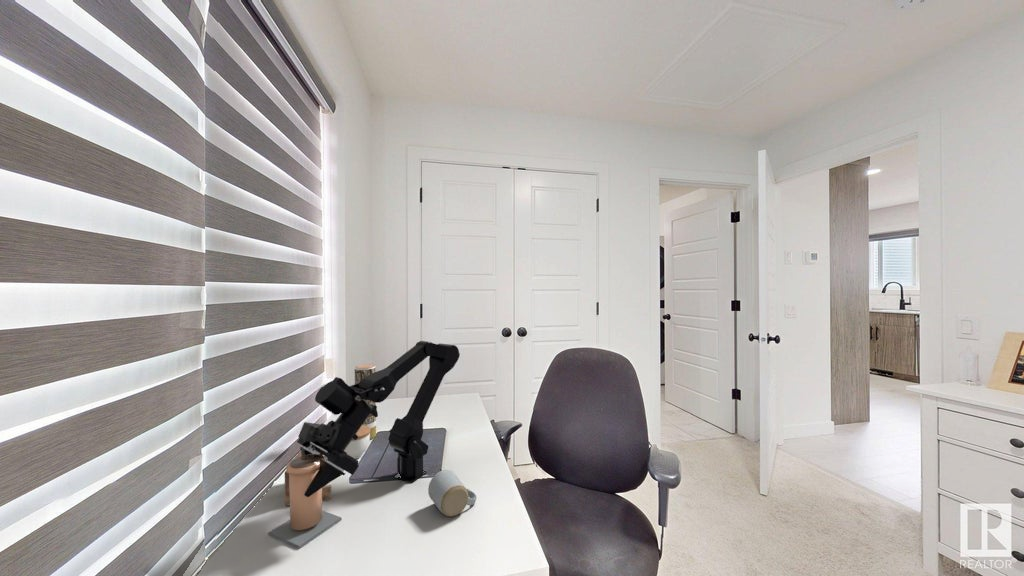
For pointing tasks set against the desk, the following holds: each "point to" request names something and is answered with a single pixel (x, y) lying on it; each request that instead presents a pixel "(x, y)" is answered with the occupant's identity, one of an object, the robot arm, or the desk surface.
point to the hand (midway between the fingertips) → (299, 491)
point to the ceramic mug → (450, 493)
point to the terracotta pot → (301, 507)
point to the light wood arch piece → (325, 492)
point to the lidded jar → (359, 443)
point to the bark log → (360, 373)
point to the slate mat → (304, 531)
